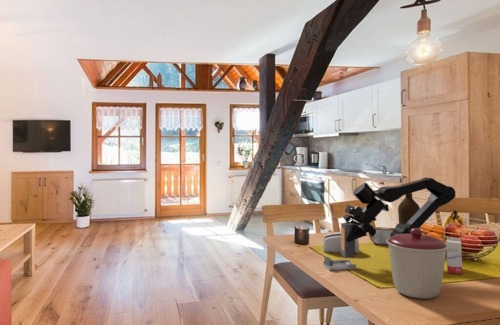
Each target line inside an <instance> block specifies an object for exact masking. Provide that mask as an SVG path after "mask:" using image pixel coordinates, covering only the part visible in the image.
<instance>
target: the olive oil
mask: <svg viewBox="0 0 500 325" xmlns="http://www.w3.org/2000/svg"><path fill="white" fill-rule="evenodd" d="M404 196H405V198H404V199H403V200H402V201H401V202H400V203H399V204H398V207H397V215H398V224H402V225H404V224H406V223H407V222H408V221H409V220H410V219H411V218H412V217H413V216H414V214H415V213H416V212H417V211H418V210H419V209H420V208H421V207H420V206H419V204H418V203H417V201H415V200H414V198H413V193H409V194H406V195H404Z"/></svg>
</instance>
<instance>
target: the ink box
mask: <svg viewBox="0 0 500 325" xmlns="http://www.w3.org/2000/svg"><path fill="white" fill-rule="evenodd" d="M461 240H462V239H461V238H459V237H458V238H457V237H446V242H445V243H447V244H448V246H449V247H448V249H446V269H447V273H448V274H456V275H457V274H458V275H463V259H462V258H463V257H462V254H463V252H462V241H461Z"/></svg>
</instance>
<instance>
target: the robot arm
mask: <svg viewBox="0 0 500 325" xmlns="http://www.w3.org/2000/svg"><path fill="white" fill-rule="evenodd" d="M422 190H426V191H428V192H430V193H429V197H428V200H427V201H426V202H425V203H424V204H423V205H422V206H421V207H419V208H420V209H419V210H418V211H417V212H416V213H415V214H414V216H413V217H412V218H411V219H410V220H409V221H408V222H407V223H406V224H404V225H402V224H399V223H397V224H396V225H395V227H393V228H394V229H392V232H391V234H390V235H391V236H393V235H397V234H410V230H411V229H412V228H419V229H420V228H421V227H422V226H423V225H424V224H425V223H426V221H427V220H428V219H429V218H431V216H433V214H434V213H436V211H437V210H438V209H439V208H440V207H442V206H444V205H447V204H449V203H450V202H451V201H453V200H454V199H455V198H456V194H457V193H456V190H455V188H454V187H452V186H449V185H446V184H444V183H441V182H439V181H437V180H435V179H434V178H432V177H423V178H420V179H417V180H413V181H409V182H406V183H403V184H399V185H388V186H381V187H379V188H378V189H377V190H376V189H375V190H373V189H372V188H371V187H370V185H369V184H368V183H367V182H363V183H362V184H361V185H358V186H357V187H355V188H354V190H353V191H352V195H353V196H354V197H355V198H356V199H357V200H358V201H359V202H360V203H361V204H362V205H365V204H366V205H365V206H364V207H361V206H358V205H356V206H352V205H350V204H347V205H346V207H345V209H344V213H346V214H345V215H344V216H343V217H342V218H343V220H344V221H345V223H352V224H354V230H353V231H352V232H351V234H350V235H349V237H348V238H347V240H346V241H347V242H350V241H353V240H355V239H358V240H359V239H361V238H363V237H368V236H369V235H370V236H372V237H373V236H374V235H375V234H376V230H375V227H374V226H373V225H371V224H372V222H373V221H374V222H376V221H377V217H378V216H379V214H380V213H381V212H382V211H384V212H389V211H390V210H389V208H390V207H389V204H387V203H393V202H395V201H398V200H400V199H401V198H402V197H403V196H405V195H406V194H409V193H412V194H413V193H415V192H419V191H422ZM384 202H387V203H384Z"/></svg>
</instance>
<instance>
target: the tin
mask: <svg viewBox="0 0 500 325" xmlns="http://www.w3.org/2000/svg"><path fill="white" fill-rule="evenodd" d="M374 228H375V230H376V234H375V235H374V236H373V237H372V236H370V235H369V234H368V236H369V238H370V239H369V240H370V241H371V242H372V243H373V244H375V245H378V246H379V245H382V246H383V245H384V246H389V245H388V243H387V242H386V240H387V239H388V238H390V237H391V235H390V234H391V232H392V229H394V228H395V227H384V226H383V227H382V226H376V227H374Z"/></svg>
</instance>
